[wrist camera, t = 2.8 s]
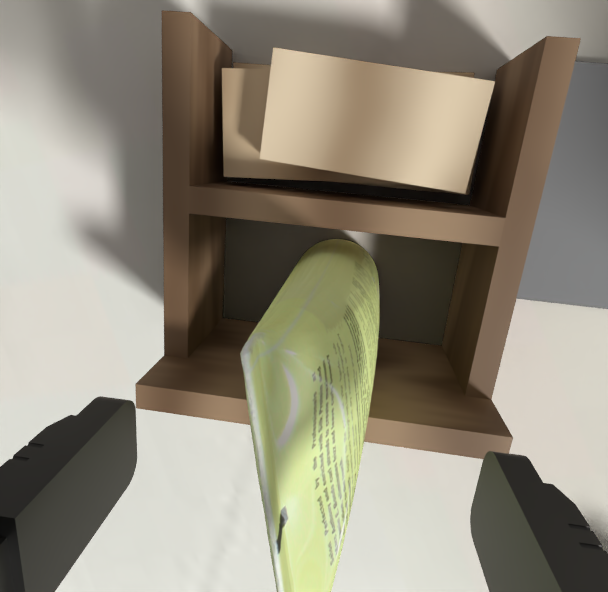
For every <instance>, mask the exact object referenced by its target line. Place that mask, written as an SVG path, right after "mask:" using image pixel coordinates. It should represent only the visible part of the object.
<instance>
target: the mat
mask: <svg viewBox="0 0 608 592" xmlns="http://www.w3.org/2000/svg"><path fill="white" fill-rule="evenodd" d="M517 299H526V300H534V301H543V302H551V303H560V304H569V305H577V306H586V307H595V308H603V309H608V64H606V63H592V62H578V61H575V64H574V68H573V72H572V76H571V80H570V84H569V88H568V92H567V96H566V100H565V104H564V108H563V112H562V116H561V120H560V124H559V128H558V132H557V136H556V140H555V144H554V148H553V152H552V156H551V160H550V165H549V169H548V173H547V177H546V181H545V185H544V189H543V193H542V197H541V201H540V205H539V209H538V213H537V217H536V221H535V225H534V229H533V233H532V237H531V241H530V245H529V249H528V253H527V257H526V261H525V265H524V269H523V273H522V277H521V281H520V285H519V290H518V294H517Z"/></svg>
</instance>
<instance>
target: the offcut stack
mask: <svg viewBox="0 0 608 592" xmlns="http://www.w3.org/2000/svg"><path fill="white" fill-rule="evenodd" d="M494 84H495V81H489V80H483V79H476V78H474V73H470V72H431V71H424V70H417V69H411V68H404V67H398V66H391V65H385V64H378V63H372V62H365V61H359V60H352V59H346V58H339V57H332V56H326V55H319V54H313V53H306V52H300V51H293V50H287V49H280V48H274V47H273V54H272V62H271V65H261V64H248V63H235V62H233V68H222V107H223V167H224V177H241V178H264V179H287V180H310V181H330V182H340V183H350V184H361V185H371V186H381V187H391V188H402V189H412V190H422V191H432V192H443V193H453V194H463V195H469V193H470V187H471V182H472V177H473V172H474V167H475V162H476V157H477V152H478V147H479V142H480V137H481V133H482V129H483V125H484V122H485V118H486V114H487V110H488V107H489V103H490V99H491V95H492V92H493V88H494Z"/></svg>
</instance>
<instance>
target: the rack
mask: <svg viewBox="0 0 608 592" xmlns="http://www.w3.org/2000/svg"><path fill="white" fill-rule="evenodd" d="M580 39H581V38H566V37H551V36H547V37H545V38H544V39H542V40H541V41H539V42H538V43H536V44H535V45H533V46H532V47H530V48H529V49H527V50H526V51H524V52H523V53H521V54H520V55H518V56H517V57H515V58H514V59H512V60H511V61H509V62H508V63H506V64H505V65H503V66H502V67H500V68H499V69H497V72H496V77H495V84H494V88H493V92H492V97H491V102H490V107H489V112H488V117H487V122H486V127H485V132H484V137H483V142H482V147H481V152H480V157H479V162H478V167H477V172H476V177H475V182H474V187H473V192H472V197H471V202H470V205H464V204H454V203H444V202H434V201H424V200H414V199H404V198H393V197H383V196H373V195H363V194H353V193H343V192H333V191H323V190H313V189H303V188H293V187H283V186H273V185H263V184H253V183H243V182H233V181H228V177H224V167H223V107H222V68H232V50H231V49H230V48H229V47H228V46H227V45H226V44H225V43H224V42H223V41H222V40H221V39H219V38H218V37H217V36H216V35H215V34H214V33H213V32H212V31H211V30H210V29H208V28H207V27H206V26H205V25H204V24H203V23H202V22H201V21H200V20H199V19H198V18H196V17H195V16H194V15H193V14H192V13H191V12H177V11H162V108H163V237H164V356H163V357H162V358H161V359H160V360H159V361H158V362H157V363H156V364H155V365H154V366H153V367H152V368H151V369H150V370H149V371H148V372H147V373H146V374H145V375H144V376H143V377H142V378H141V379H140V380H139V381H138V382H137V383H136V408H139V409H146V410H152V411H159V412H166V413H173V414H180V415H187V416H193V417H200V418H207V419H214V420H221V421H227V422H234V423H241V424H248V425H250V419H249V412H248V405H247V397H246V389H245V379H244V373H243V367H242V362H241V356H240V353H241V351H242V349H243V347H244V345H245V343H246V342H247V341H248V338H249V337H250V335H251V334H252V332H253V331H254V329H255V328H256V326H257V325H258V322H250V321H242V320H234V319H226V318H223V294H224V266H225V238H226V217H227V218H237V219H246V220H255V221H265V222H274V223H283V224H293V225H302V226H312V227H321V228H330V229H340V230H349V231H358V232H368V233H377V234H387V235H396V236H405V237H415V238H424V239H433V240H443V241H452V242H462V247H461V252H460V257H459V262H458V267H457V272H456V277H455V282H454V287H453V292H452V297H451V302H450V307H449V312H448V317H447V322H446V327H445V332H444V337H443V342H442V346H440V345H432V344H424V343H416V342H408V341H400V340H392V339H384V338H378V348H377V358H376V366H375V375H374V382H373V389H372V396H371V403H370V410H369V415H368V421H367V427H366V432H365V438H364V442H371V443H377V444H384V445H391V446H398V447H405V448H411V449H418V450H425V451H432V452H439V453H445V454H452V455H459V456H466V457H473V458H480V459H484V457H485V455H486V453H487V452H488V451H493V452H500V453H508V454H509V450H510V447H511V443H512V439H513V437H512V435H511V433H510V432H509V430H508V428H507V426H506V425H505V423H504V421H503V419H502V418H501V416H500V414H499V412H498V411H497V409H496V407H495V405H494V404H493V402H492V400H491V398H492V394H493V390H494V386H495V382H496V378H497V374H498V370H499V366H500V362H501V358H502V354H503V350H504V346H505V342H506V338H507V334H508V330H509V326H510V322H511V318H512V314H513V310H514V306H515V302H516V298H517V294H518V290H519V285H520V281H521V277H522V273H523V269H524V265H525V261H526V257H527V253H528V249H529V245H530V241H531V237H532V233H533V229H534V225H535V221H536V217H537V213H538V209H539V205H540V201H541V197H542V193H543V189H544V185H545V181H546V177H547V173H548V169H549V165H550V160H551V156H552V152H553V148H554V144H555V140H556V136H557V132H558V128H559V124H560V120H561V116H562V112H563V108H564V104H565V100H566V96H567V92H568V88H569V84H570V80H571V76H572V72H573V68H574V64H575V60H576V56H577V52H578V48H579V44H580Z"/></svg>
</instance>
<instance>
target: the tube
mask: <svg viewBox="0 0 608 592" xmlns="http://www.w3.org/2000/svg"><path fill="white" fill-rule="evenodd" d="M378 336H379V278H378V272H377V268H376V265H375V263H374V261H373V259H372V257H371V256H370V255H369V254H368V252H367V251H366V250H364V249H363V248H362V247H361V246H359V245H358V244H356V243H354V242H351V241H348V240H343V239H330V240H325V241H322V242H319V243H317V244H315V245H314V246H312V247H311V248H310V249H308V250H307V251H306V252H305V253H304V255H303V256H302V257H301V259H300V260H299V261H298V263H297V264H296V266H295V268H294V269H293V271H292V272H291V274H290V275H289V277H288V278H287V280H286V282H285V283H284V285H283V286H282V288H281V289H280V291H279V293H278V294H277V296H276V297H275V299H274V300H273V302H272V303H271V305H270V306H269V308H268V309H267V311H266V313H265V314H264V316H263V317H262V319H261V320H260V322H259V323H258V325H257V326H256V328H255V329H254V331H253V332H252V334H251V335H250V337H249V338H248V341H247V342H246V343H245V345H244V347H243V349H242V351H241V353H240V356H241V362H242V367H243V373H244V379H245V389H246V397H247V405H248V412H249V419H250V426H251V432H252V439H253V445H254V452H255V459H256V467H257V473H258V478H259V485H260V490H261V496H262V502H263V507H264V513H265V521H266V526H267V534H268V539H269V545H270V552H271V559H272V565H273V570H274V576H275V582H276V588H277V592H331V589H332V586H333V582H334V578H335V574H336V570H337V566H338V562H339V559H340V555H341V551H342V546H343V542H344V537H345V533H346V528H347V524H348V520H349V515H350V511H351V506H352V502H353V497H354V492H355V486H356V481H357V476H358V470H359V465H360V460H361V454H362V449H363V443H364V438H365V432H366V427H367V421H368V415H369V410H370V403H371V396H372V389H373V382H374V375H375V366H376V358H377V348H378Z"/></svg>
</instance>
